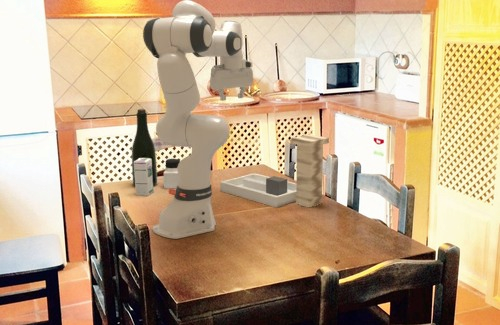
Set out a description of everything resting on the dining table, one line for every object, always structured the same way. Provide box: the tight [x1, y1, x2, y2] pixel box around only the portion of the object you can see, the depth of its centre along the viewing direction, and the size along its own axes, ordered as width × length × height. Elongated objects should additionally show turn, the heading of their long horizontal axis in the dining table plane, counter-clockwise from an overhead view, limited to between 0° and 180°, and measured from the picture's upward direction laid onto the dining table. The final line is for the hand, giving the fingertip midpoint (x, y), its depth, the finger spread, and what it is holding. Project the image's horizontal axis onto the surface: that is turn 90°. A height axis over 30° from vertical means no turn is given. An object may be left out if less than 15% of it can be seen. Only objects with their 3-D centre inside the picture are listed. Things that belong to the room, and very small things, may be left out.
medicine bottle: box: [163, 158, 181, 190], centre depth 260 cm, size 7×7×12 cm
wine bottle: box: [131, 108, 158, 187], centre depth 260 cm, size 10×10×33 cm
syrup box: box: [134, 158, 154, 197], centre depth 249 cm, size 6×6×14 cm
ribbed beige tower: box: [290, 134, 330, 208], centre depth 232 cm, size 10×10×26 cm
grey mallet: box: [243, 175, 288, 196], centre depth 250 cm, size 5×21×6 cm, turn 47°
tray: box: [219, 172, 296, 208], centre depth 249 cm, size 20×32×4 cm, turn 44°
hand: (232, 99), depth 240 cm, fingers open, 8 cm apart
